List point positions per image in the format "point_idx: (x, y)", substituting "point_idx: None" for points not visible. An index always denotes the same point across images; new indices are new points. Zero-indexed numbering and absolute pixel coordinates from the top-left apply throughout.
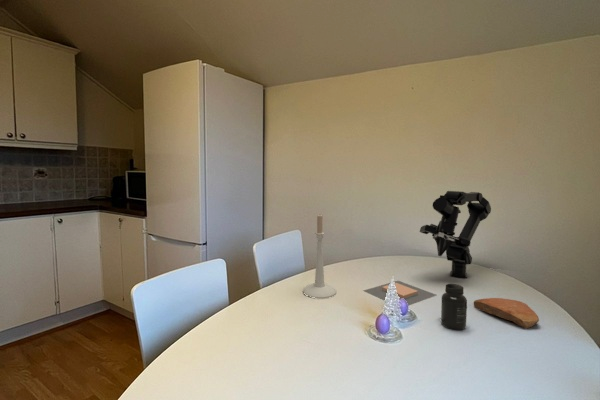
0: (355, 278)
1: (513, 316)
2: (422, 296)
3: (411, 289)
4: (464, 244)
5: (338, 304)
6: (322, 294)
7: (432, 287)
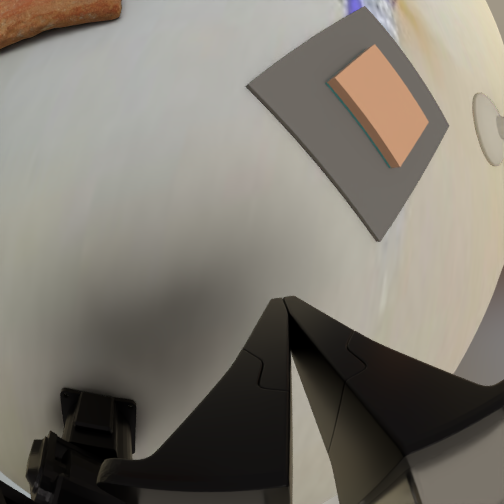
0: (461, 237)
1: None
2: (309, 68)
3: (356, 93)
4: (7, 497)
5: (457, 62)
6: (485, 96)
7: (247, 200)
